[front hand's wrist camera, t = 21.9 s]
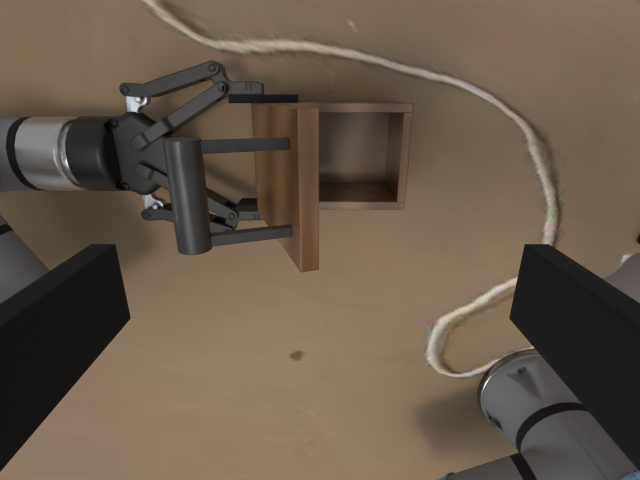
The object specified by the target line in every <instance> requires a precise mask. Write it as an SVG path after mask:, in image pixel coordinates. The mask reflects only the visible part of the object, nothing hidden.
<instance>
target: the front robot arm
mask: <svg viewBox="0 0 640 480" xmlns="http://www.w3.org/2000/svg"><path fill="white" fill-rule="evenodd" d="M129 320H130V313H129V308H128V303H127V299H126V294H125V289H124V284H123V279H122V275H121V270H120V265H119V260H118V255H117V251H116V246H115V244H91V245H89V246H88V247H86V248H85V249H83V250H82V251H80V252H79V253H77V254H76V255H74V256H73V257H71V258H69V259H68V260H66V261H65V262H63V263H62V264H60V265H59V266H57V267H56V268H54V269H53V270H51V271H49V272H48V273H46V274H45V275H43V276H42V277H40V278H39V279H37V280H36V281H34V282H33V283H31V284H30V285H28V286H26V287H25V288H23V289H22V290H20V291H19V292H17V293H16V294H14V295H13V296H11V297H10V298H8V299H6V300H5V301H3V302H2V303H0V471H1V470H2V469H3V468H4V467H5V465H6V464H7V463H8V462H9V461H10V460H11V458H12V457H13V456H14V455H15V454H16V453H17V451H18V450H19V449H20V448H21V447H22V445H23V444H24V443H25V442H26V441H27V440H28V438H29V437H30V436H31V435H32V434H33V433H34V431H35V430H36V429H37V428H38V427H39V425H40V424H41V423H42V422H43V421H44V420H45V418H46V417H47V416H48V415H49V414H50V413H51V411H52V410H53V409H54V408H55V407H56V405H57V404H58V403H59V402H60V401H61V400H62V398H63V397H64V396H65V395H66V394H67V393H68V391H69V390H70V389H71V388H72V387H73V385H74V384H75V383H76V382H77V381H78V380H79V378H80V377H81V376H82V375H83V374H84V373H85V371H86V370H87V369H88V368H89V367H90V365H91V364H92V363H93V362H94V361H95V360H96V358H97V357H98V356H99V355H100V354H101V353H102V351H103V350H104V349H105V348H106V347H107V345H108V344H109V343H110V342H111V341H112V340H113V338H114V337H115V336H116V335H117V334H118V333H119V331H120V330H121V329H122V328H123V327H124V325H125V324H126V323H127V322H128V321H129ZM510 320H511V321H512V322H513V323H514V324H515V325H516V327H517V328H518V329H519V330H520V331H521V333H522V334H523V335H524V336H525V337H526V338H527V340H528V341H529V342H530V343H531V344H532V345H533V347H534V348H535V349H536V350H528V351H522V352H519V353H515V354H513V355H510V356H508V357H506V358H504V359H502V360H501V361H499V362H498V363H497V364H495V365H494V366H493V367H492V368H491V369H490V370H489V371H488V372H487V373H486V375H485V376H484V378H483V379H482V381H481V383H480V386H479V390H478V402H479V405H480V407H481V409H482V411H483V413H484V415H485V417H486V418H487V420H488V421H489V422H490V424H491V425H492V426H493V427H494V428H495V429H496V430H497V431H498V432H500V433H501V434H502V435H503V436H504V437H505V438H506V439H507V440H508V441H509V442H510V443H511V444H512V445H513V446H514V447H515V448H516V449H517V450H518V452H519V453H517V454H514V455H511V456H507V457H504V458H501V459H498V460H495V461H492V462H489V463H486V464H483V465H479V466H476V467H473V468H470V469H467V470H464V471H461V472H458V473H453V472H451V473H448V474H447V475H445V476H444V477H442V478H440V479H437V480H640V303H638V302H637V301H635V300H634V299H632V298H630V297H629V296H627V295H626V294H624V293H623V292H621V291H620V290H618V289H617V288H615V287H613V286H612V285H610V284H609V283H607V282H606V281H604V280H603V279H601V278H600V277H598V276H597V275H595V274H594V273H592V272H591V271H589V270H587V269H586V268H584V267H583V266H581V265H580V264H578V263H577V262H575V261H574V260H572V259H571V258H569V257H567V256H566V255H564V254H563V253H561V252H560V251H558V250H557V249H555V248H554V247H552V246H551V245H549V244H525V246H524V251H523V255H522V260H521V265H520V270H519V275H518V279H517V284H516V289H515V294H514V299H513V303H512V308H511V313H510Z"/></svg>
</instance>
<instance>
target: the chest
mask: <svg viewBox="0 0 640 480" xmlns="http://www.w3.org/2000/svg"><path fill="white" fill-rule="evenodd" d="M267 104H278V105H290V106H301V107H313V108H319V209H367V210H404V208H405V196H406V184H407V172H408V160H409V148H410V136H411V124H412V111H413V103H403V102H298V103H267Z"/></svg>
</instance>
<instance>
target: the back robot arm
mask: <svg viewBox="0 0 640 480" xmlns="http://www.w3.org/2000/svg"><path fill="white" fill-rule="evenodd" d="M210 79H212V81H213V83H214V85H213V86H211V87H210V88H209V89H207V90H206V91H204V92H203V93H201V94H200V95H198V96H197V97H195V98H194V99H192V100H191V101H189V102H188V103H186V104H185V105H183V106H182V107H180V108H179V109H177V110H176V111H175V112H173V113H172V114H170V115H169V116H167V117H165V118H163V119H161V120H160V121H158V122H155V121H154V120H152V119H151V118H149V117H148V116H147V115H145V114H144V113H142V112H141V110H142V108H143V107H144V106H146V105H149V104H150V102H151V97H159V96H162V95H165V94H168V93H171V92H174V91H177V90H180V89H183V88H186V87H189V86H192V85H195V84H198V83H201V82H204V81H207V80H210ZM120 92H121V94H122V95H124V96H126V103H127V113H125V114H123V115H122V116H82V117H79V118H77V117H74V116H33V117H0V192H3V191H18V190H61V191H84V190H87V189H88V190H92V191H133V192H136V193H138V194H140V195H142V199H143V203H144V207H145V210H143V211H142V213H141V215H142V218H143V219H145V220H167V221H170V222H174V219H173V212H172V205H171V203H166V200H165V199H162V198H158V197H157V196H156V195H155V193H154V192H155V191H156V190H157V189H159V188H160V187H161V186H162V187H164V188H166V189H167V190H169V185H168V178H167V171H166V164H165V157H164V150H163V143H162V140H163V139H166V138H174V137H173V135H172V133H174V132H175V131H177V130H178V129H180V128H181V127H182V126H183V125H185V124H186V123H188V122H189V121H191V120H192V119H194V118H195V117H197V116H198V115H200V114H201V113H203V112H204V111H206V110H208V109H209V108H211V107H212V106H214V105H215V104H217V103H218V102H220V101H221V100H223V99H224V98H226V97H227V96H229V103H298V95H264V84H262V83H259V82H232V81H230V80H229V79H228V77H227V75H226V73H225V68H224V66H223V65H222V64H221V63H218V62H215V61H208V62H205V63H202V64H200V65H197V66H194V67H191V68H188V69H185V70H182V71H179V72H176V73H173V74H170V75H167V76H165V77H162V78H159V79H156V80H153V81H150V82H147V83H144V84H135V83H122V84H121V85H120ZM206 191H207V200H208V209H209V210H211V211H212V212H214V213H216V214H218V215H220V216H222V217H220V216H217V215H213V214H210V213H209V218H210V228H211V233H215V232H224V231H233V230H236V228H237V224H238V221H240V220H264V219H263V218H262V216H261V215H260V213H259V212H258V206H257V198H242V199H241V200H240V202H239V203H238V204H236V203H234V202H232V201H230V200H228V199H226V198H225V197H223V196H221V195H219V194H217V193H215V192H214V191H212V190H210V189H208V188H206ZM49 271H50V270H49V269H48V268H47V267H46V266H45V265H44V264H43V263H42V262H41V261H40V260H39V258H38V257H37V256H36V255H35V254H34V253H33V252H32V251H31V250H30V249H29V248H28V247H27V245H26V244H25V243H24V242H23V241H22V240H21V239H20V238H19V237H18V236H17V235H16V234H15V232H14V231H13V229H12V228H11V227H10V226H9V225H8V223H7V222H6V221H5V220H4V219H3V217H2V216H1V215H0V303H2V302H3V301H5V300H6V299H8V298H10V297H11V296H13V295H14V294H16V293H17V292H19V291H20V290H22V289H23V288H25V287H26V286H28V285H30V284H31V283H33V282H34V281H36V280H37V279H39V278H40V277H42V276H43V275H45V274H46V273H48V272H49Z"/></svg>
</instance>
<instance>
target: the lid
mask: <svg viewBox="0 0 640 480" xmlns="http://www.w3.org/2000/svg"><path fill="white" fill-rule="evenodd" d="M251 108H252V124H253V139H226V140H201V139H200V138H197V137H175V138H166V139H163V140H162V143H163V150H164V157H165V164H166V171H167V178H168V185H169V192H170V199H171V205H172V212H173V219H174V226H175V233H176V240H177V247H178V251H179V253H181V254H184V255H197V254H202V253H205V252H208V251H210V250H211V249H212V247H213V246H219V245H227V244H236V243H244V242H252V241H260V240H269V239H278V240H279V242H280V243H281V245H282V246H283V247H284V249H285V250H286V252H287V253H288V255H289V256H290V257H291V259H292V260H293V262H294V263H295V264H296V266H297V267H298V269H299V270H300V272H307V271H313V270H319V108H313V107H301V106H290V105H278V104H267V103H252V104H251ZM250 151H254V157H255V173H256V190H257V206H258V212H259V213H260V215H261V216H262V218H263V219H264V221H265V222H266V223H267V225H268V226H269V227H261V228H252V229H242V230H233V231H224V232H215V233H211V228H210V218H209V209H208V200H207V191H206V182H205V172H204V163H203V154H206V153H228V152H250Z"/></svg>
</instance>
